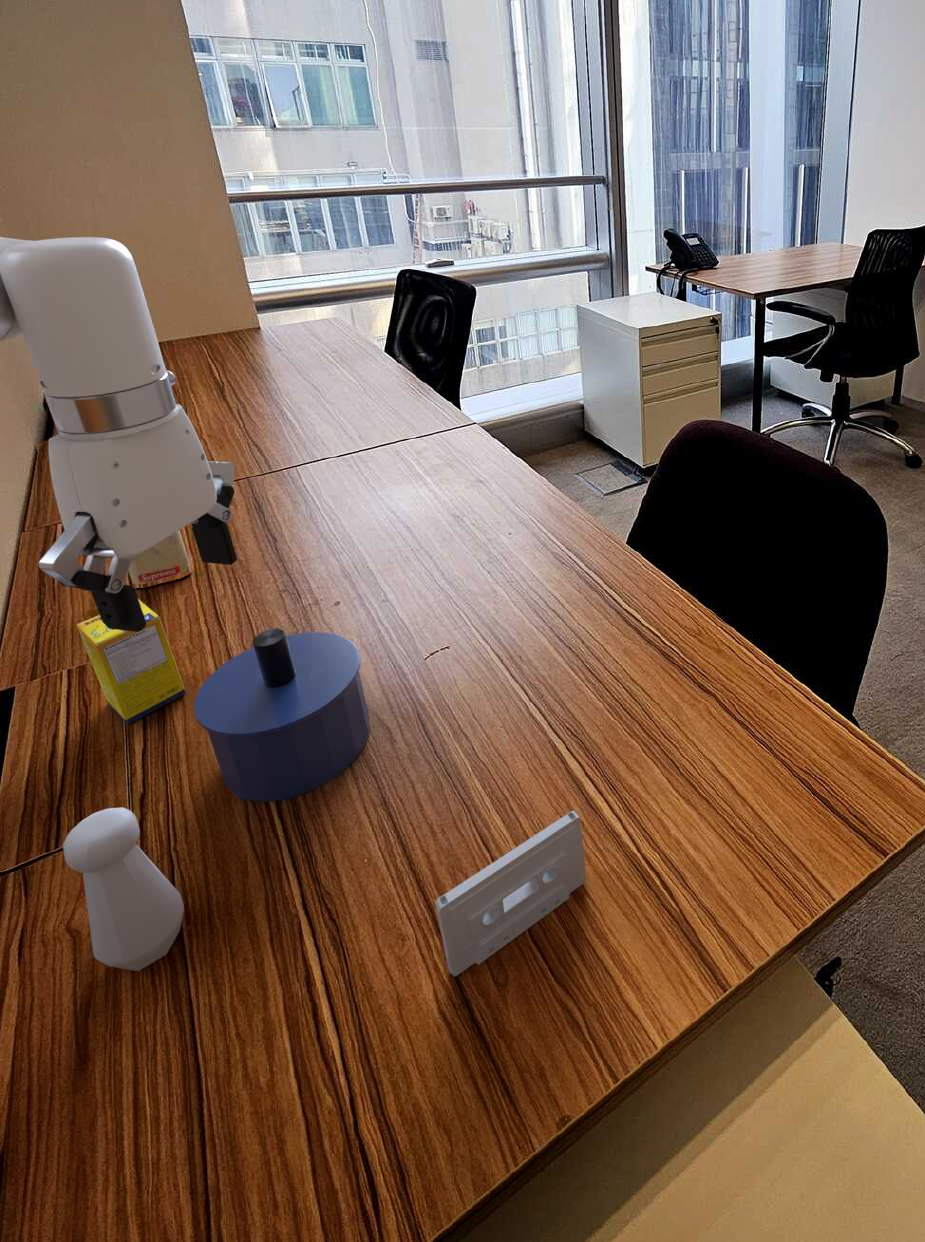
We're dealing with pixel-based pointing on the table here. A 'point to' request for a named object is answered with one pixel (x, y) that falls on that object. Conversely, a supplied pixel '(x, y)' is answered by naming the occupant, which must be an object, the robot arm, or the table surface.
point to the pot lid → (277, 683)
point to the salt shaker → (123, 891)
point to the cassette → (511, 894)
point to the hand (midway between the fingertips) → (177, 592)
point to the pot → (295, 752)
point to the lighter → (160, 561)
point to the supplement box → (133, 665)
